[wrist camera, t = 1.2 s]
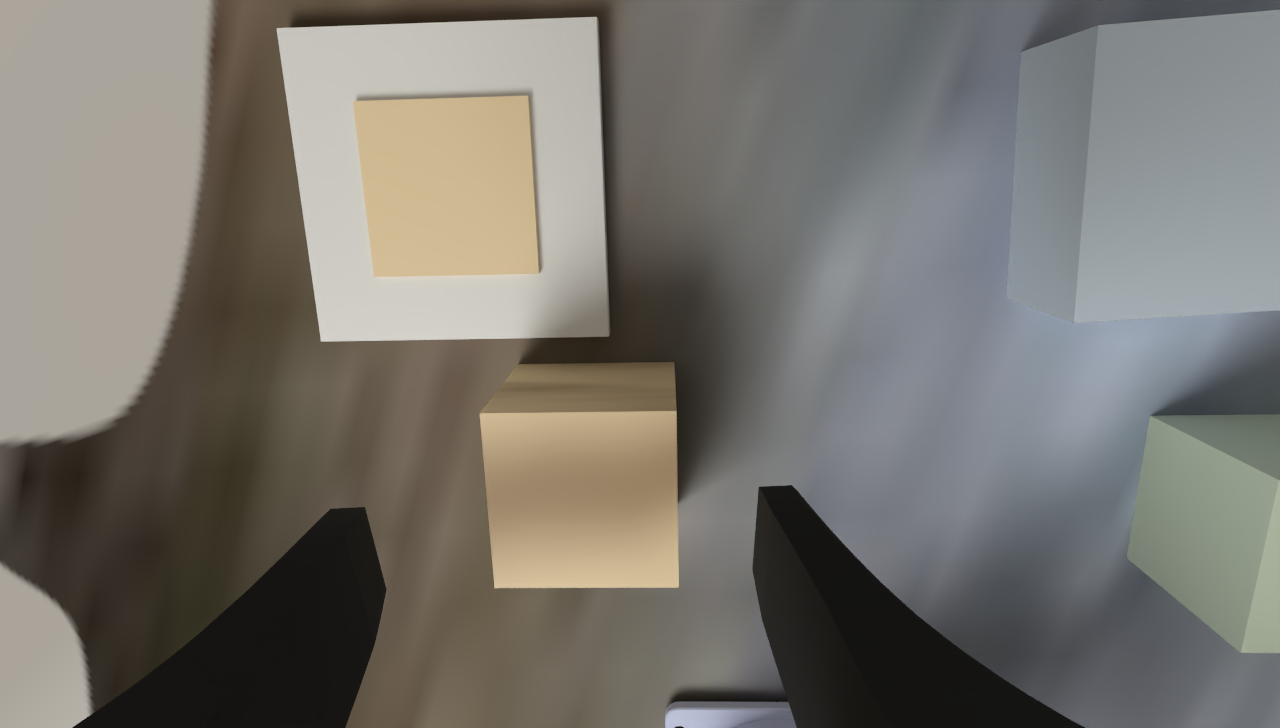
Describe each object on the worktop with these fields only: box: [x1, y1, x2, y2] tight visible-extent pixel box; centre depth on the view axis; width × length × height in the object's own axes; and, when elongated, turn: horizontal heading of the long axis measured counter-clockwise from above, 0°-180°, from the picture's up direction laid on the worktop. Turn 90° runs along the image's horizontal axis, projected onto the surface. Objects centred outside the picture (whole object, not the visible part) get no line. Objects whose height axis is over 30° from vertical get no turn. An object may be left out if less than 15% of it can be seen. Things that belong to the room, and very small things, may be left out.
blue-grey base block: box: [1007, 10, 1280, 323], centre depth 19 cm, size 7×7×4 cm
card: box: [277, 17, 610, 341], centre depth 21 cm, size 9×9×1 cm
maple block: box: [480, 362, 679, 588], centre depth 21 cm, size 5×5×5 cm
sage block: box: [1126, 414, 1280, 653], centre depth 21 cm, size 5×5×5 cm
